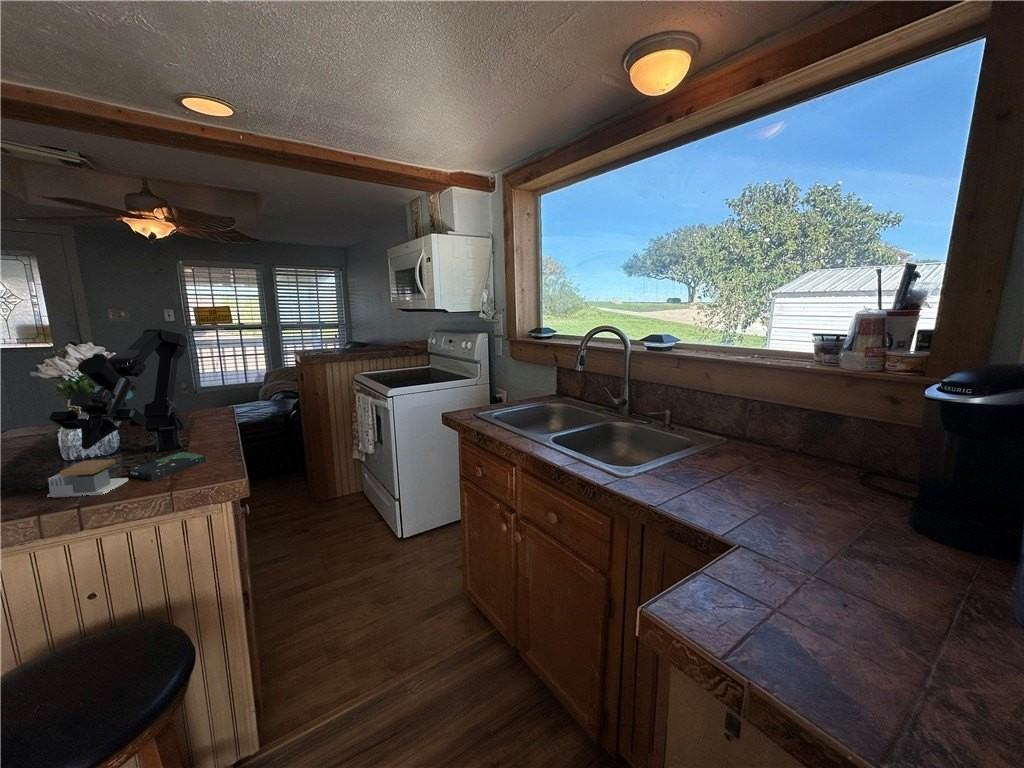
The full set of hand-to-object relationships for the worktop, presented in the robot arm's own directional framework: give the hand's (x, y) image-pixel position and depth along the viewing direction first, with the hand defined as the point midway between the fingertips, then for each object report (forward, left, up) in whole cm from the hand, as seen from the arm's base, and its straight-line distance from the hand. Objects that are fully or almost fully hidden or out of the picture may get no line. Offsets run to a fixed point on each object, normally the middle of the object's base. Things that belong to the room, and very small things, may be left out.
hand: (84, 448), depth 103 cm
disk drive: (-7, +15, -12) cm, 21 cm away
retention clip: (0, 0, -10) cm, 10 cm away
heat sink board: (-2, -1, -11) cm, 12 cm away
